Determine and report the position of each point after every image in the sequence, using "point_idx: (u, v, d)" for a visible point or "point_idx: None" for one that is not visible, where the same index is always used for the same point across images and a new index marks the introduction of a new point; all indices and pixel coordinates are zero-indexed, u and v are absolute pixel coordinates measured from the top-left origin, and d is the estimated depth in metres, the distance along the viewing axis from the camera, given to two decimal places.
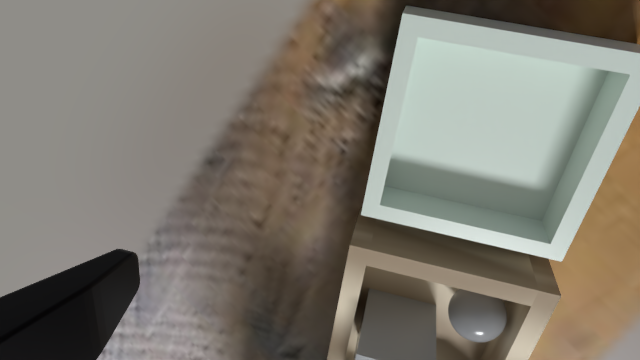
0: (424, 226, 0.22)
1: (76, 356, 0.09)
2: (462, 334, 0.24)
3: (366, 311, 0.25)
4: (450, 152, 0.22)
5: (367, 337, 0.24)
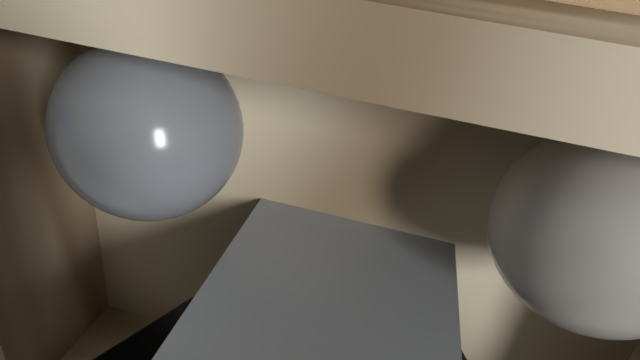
0: None
1: None
2: (149, 208, 0.07)
3: None
4: None
5: None
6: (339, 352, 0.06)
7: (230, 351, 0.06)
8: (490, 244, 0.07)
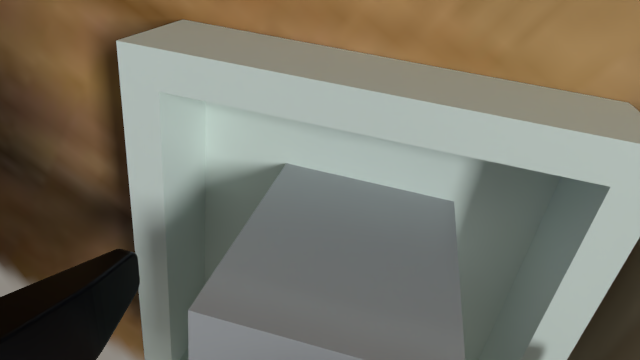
0: None
1: (76, 356, 0.09)
2: None
3: None
4: None
5: None
6: (360, 275, 0.08)
7: (273, 271, 0.07)
8: None
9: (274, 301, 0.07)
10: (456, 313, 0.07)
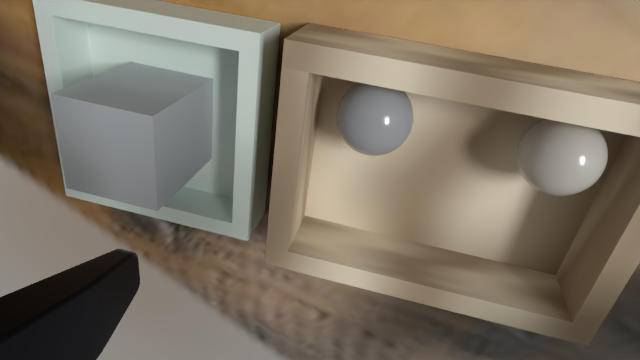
0: (247, 183, 0.20)
1: (76, 356, 0.09)
2: (384, 147, 0.17)
3: None
4: None
5: None
6: (135, 92, 0.18)
7: (95, 88, 0.17)
8: (518, 162, 0.17)
9: (89, 95, 0.17)
10: (170, 103, 0.17)
